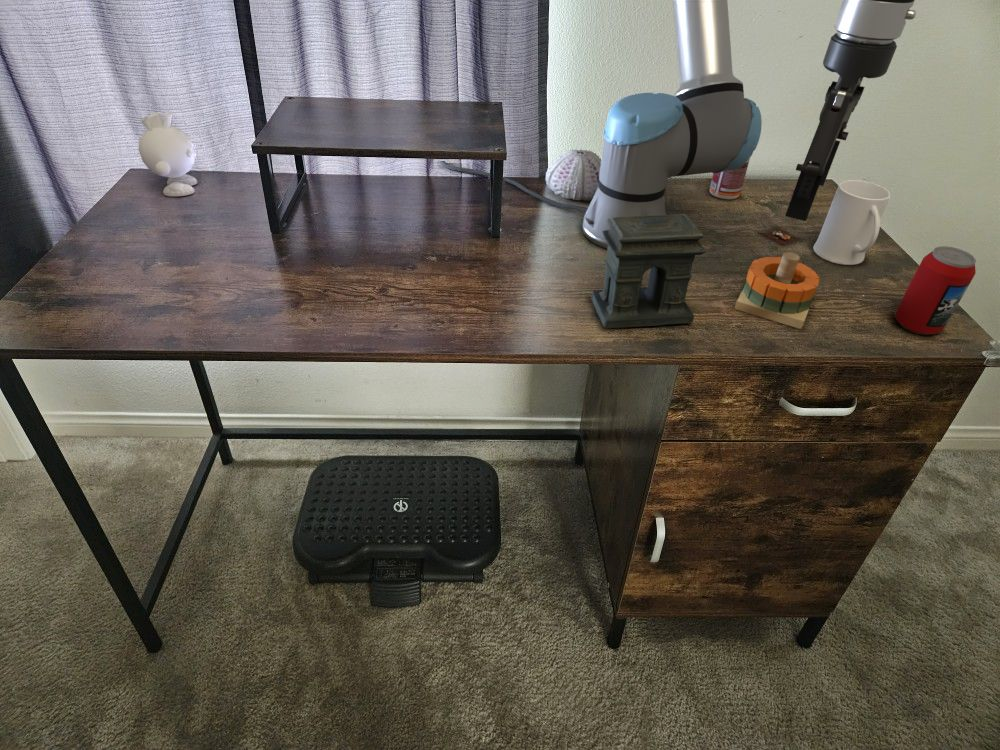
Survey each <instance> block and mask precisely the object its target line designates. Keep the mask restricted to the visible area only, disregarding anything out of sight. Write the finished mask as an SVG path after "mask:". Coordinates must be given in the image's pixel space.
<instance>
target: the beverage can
mask: <svg viewBox="0 0 1000 750" xmlns="http://www.w3.org/2000/svg"><path fill="white" fill-rule="evenodd" d="M976 262H977V260H976V258H975V257H974V255H972V254H971V253H969V252H967V251H966V250H963V249H960V248H956V247H953V246H945V245H943V246H937V247H935V248H933V250H932V251H930V252H929V253H928V254H926V255H925V256H924V257H922V260H921V261H920V263H919V265H918V267H917V269H916V271H915V273H914V275H913V277H912V279H911V281H910V283H909V285H908V286H907V288H906V291H905V292H904V294H903V297H902V298H901V301H900V302H899V304H898V307H897V308H896V311H895V312H894V317H895V319H896V322H898V323H899V324H900V326H902V327H903V328H904V329H905V330H907V331H909V332H911V333H913V334H918V335H924V336H925V335H936V334H939V333H941V332H942V331H943V330H944V328H945V327H946V325H947V324H948V322H949V321H950V319H951V317H952V315H953V314H954V312H955V310H956V308H957V307H958V305H959V303H960V302H961V300H962V299H963V296H964V295H965V293H966V291H967V290H968V288H969V286H970V285H971V283H972V281H973V279H974V277H975V275H976V274H977V273H976V271H977V270H976Z"/></svg>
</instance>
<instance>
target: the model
mask: <svg viewBox="0 0 1000 750" xmlns="http://www.w3.org/2000/svg"><path fill="white" fill-rule="evenodd" d="M607 222H608V223H609V225H610V230H605V231H602V233H603V235H604V238H605V240H606V241H607V243H608V249H607V252H606V257H605V259H604V264H605V271H604V277H603V285H602V289H600V290H593V291H592V292H591V298H590V299H591V302H592V304H593V306H594V308H595V311H596V313H597V315H598V318H599V320H600V322H601V324H602V327H603V328H604V329H617V328H637V327H653V326H654V327H655V326H665V325H666V326H667V325H679V324H680V325H681V324H692V323H693V322H694V319H695V315H694V313H693V311H692V310H691V308H690V306H689V305H688V304H687V302H686V296H687V291H688V286H689V282H690V281H691V280H692V278H693V275H692V268H693V263H694V261H695V258H696V256H703V255H704V254H706V253H707V249H706V247H704V246H703V244H702V243H701V242H700V241H699V240H703V239H704V238H705V235H704V234H703V233H702V231H701V230H700V229H699V228H698V227H697V225H696V224H695V223H694V222H693V220H691V218H690V217H689V216H688V215H687V214H685V213H682V214H680V213H678V214H666V215H657V216H635V217H613V218H610V219H608V220H607ZM649 270H650V271H649ZM647 271H649V277H648V283H647V286H644V287H642V283H643V277H644V274H645V273H646V272H647Z"/></svg>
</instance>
